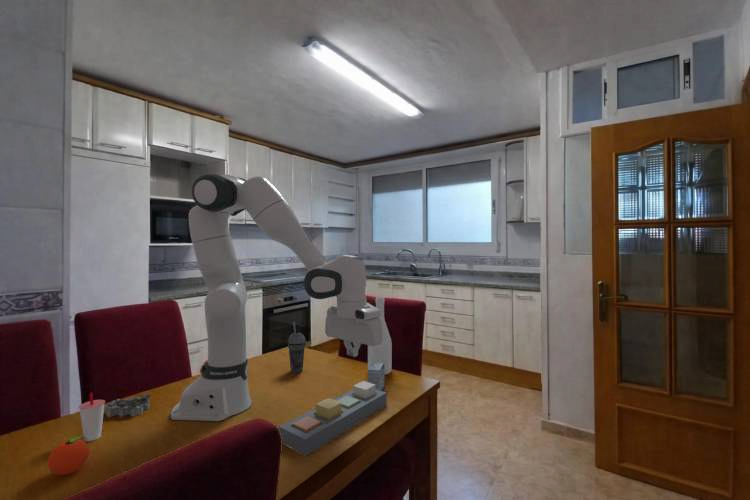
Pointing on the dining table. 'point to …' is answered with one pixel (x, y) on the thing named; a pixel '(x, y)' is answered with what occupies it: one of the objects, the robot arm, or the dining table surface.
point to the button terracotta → (306, 424)
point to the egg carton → (128, 406)
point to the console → (330, 423)
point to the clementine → (68, 456)
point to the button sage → (348, 402)
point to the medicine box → (376, 375)
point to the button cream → (364, 390)
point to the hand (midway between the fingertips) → (352, 355)
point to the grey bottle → (384, 349)
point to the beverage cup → (296, 351)
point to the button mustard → (328, 409)
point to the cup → (92, 418)
